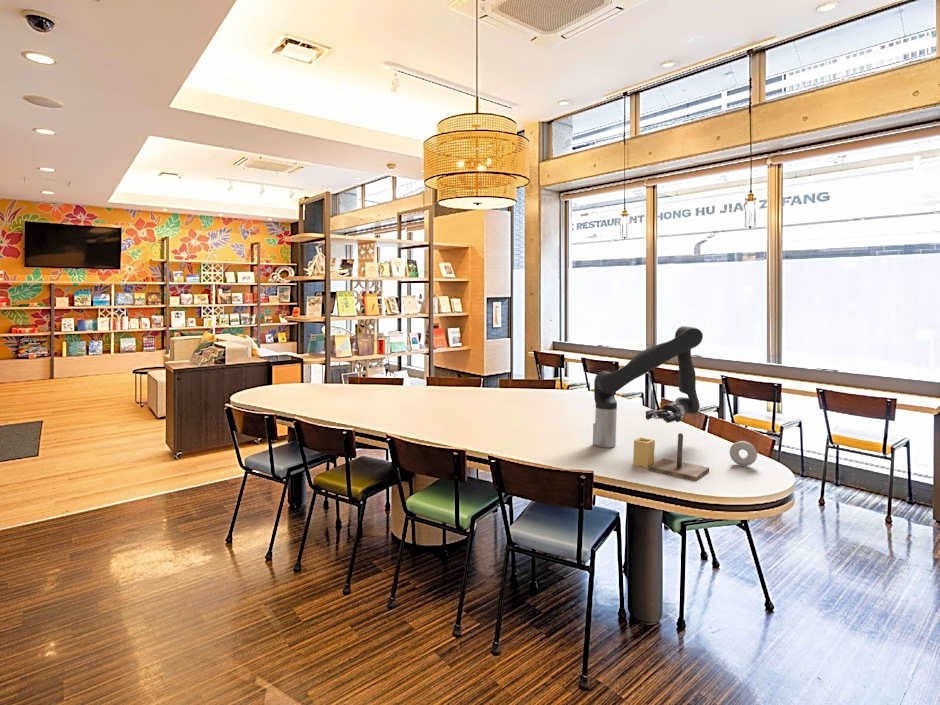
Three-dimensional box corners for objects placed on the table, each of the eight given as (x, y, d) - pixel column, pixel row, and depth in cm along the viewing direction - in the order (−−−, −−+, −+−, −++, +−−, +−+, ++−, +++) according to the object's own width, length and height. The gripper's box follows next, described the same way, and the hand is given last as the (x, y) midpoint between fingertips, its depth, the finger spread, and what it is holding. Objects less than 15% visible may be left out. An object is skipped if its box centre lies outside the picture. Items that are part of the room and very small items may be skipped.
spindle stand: (648, 470, 217) (650, 432, 215) (663, 461, 227) (665, 425, 226) (695, 480, 205) (697, 441, 203) (709, 471, 215) (711, 433, 214)
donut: (757, 467, 221) (758, 442, 220) (755, 469, 218) (757, 444, 217) (729, 462, 227) (731, 438, 226) (727, 464, 224) (729, 440, 223)
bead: (633, 464, 223) (634, 440, 222) (639, 461, 228) (640, 437, 227) (647, 468, 219) (648, 443, 218) (653, 464, 224) (654, 440, 223)
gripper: (656, 401, 246) (640, 407, 234) (689, 405, 237) (674, 412, 225) (656, 417, 247) (640, 424, 235) (688, 422, 238) (673, 430, 226)
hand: (657, 418), depth 230 cm, fingers open, 8 cm apart
